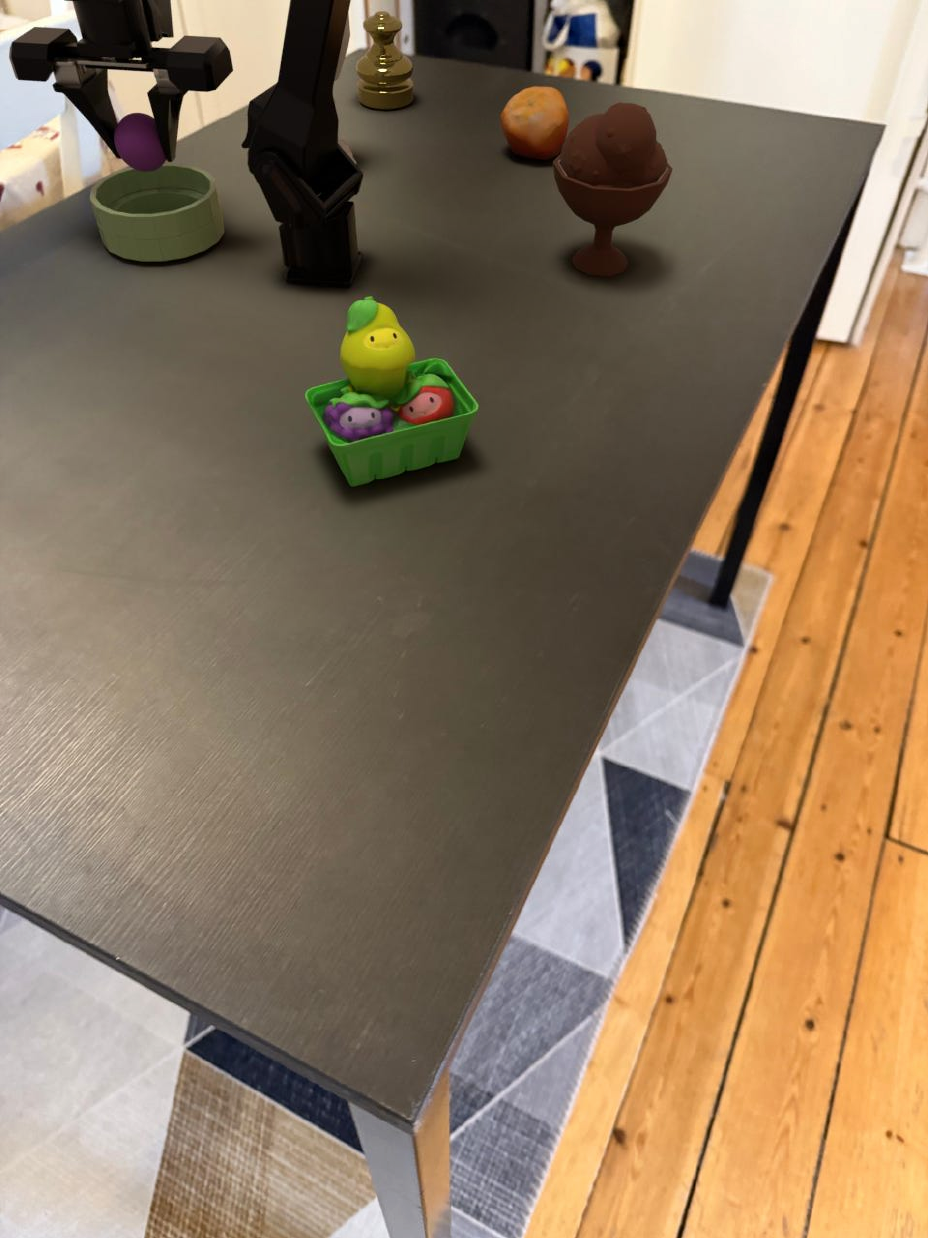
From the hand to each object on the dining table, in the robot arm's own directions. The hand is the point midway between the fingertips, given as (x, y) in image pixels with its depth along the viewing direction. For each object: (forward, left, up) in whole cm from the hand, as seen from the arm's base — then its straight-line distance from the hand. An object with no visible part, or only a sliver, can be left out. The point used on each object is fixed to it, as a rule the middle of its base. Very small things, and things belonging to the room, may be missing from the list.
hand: (146, 158), depth 86 cm
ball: (0, 0, +2) cm, 2 cm away
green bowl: (0, 0, -8) cm, 8 cm away
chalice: (-13, -21, -8) cm, 26 cm away
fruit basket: (-30, +31, -8) cm, 44 cm away
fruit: (-36, -28, -8) cm, 46 cm away
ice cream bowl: (-45, -2, -8) cm, 46 cm away
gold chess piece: (-15, -42, -8) cm, 45 cm away
